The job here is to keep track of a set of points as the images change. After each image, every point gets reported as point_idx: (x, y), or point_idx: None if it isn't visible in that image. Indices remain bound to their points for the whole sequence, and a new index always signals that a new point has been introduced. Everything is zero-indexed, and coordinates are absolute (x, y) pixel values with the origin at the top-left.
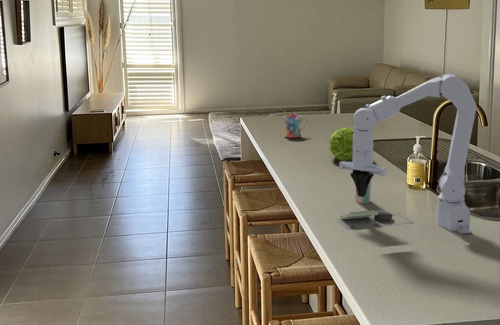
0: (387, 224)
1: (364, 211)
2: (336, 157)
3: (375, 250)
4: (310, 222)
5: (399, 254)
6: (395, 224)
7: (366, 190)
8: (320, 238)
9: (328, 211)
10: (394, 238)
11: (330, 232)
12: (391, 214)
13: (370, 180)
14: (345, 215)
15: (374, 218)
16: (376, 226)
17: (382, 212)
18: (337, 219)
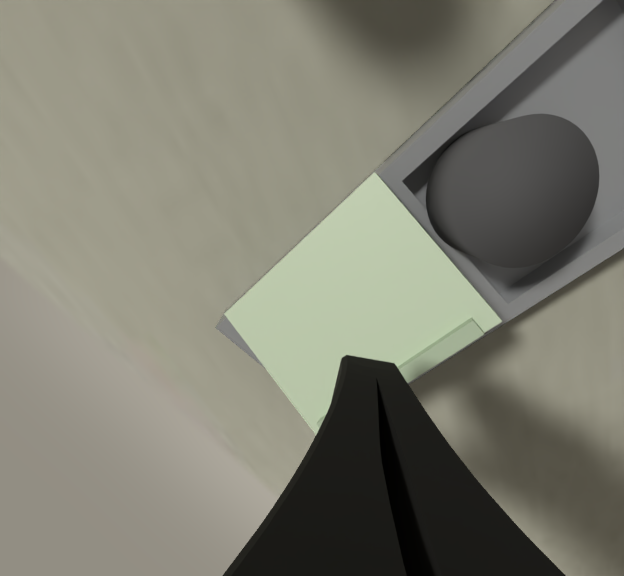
0: (543, 281)
1: (407, 382)
2: None
3: (507, 506)
4: (102, 335)
5: (609, 511)
6: (602, 261)
7: (417, 405)
8: (263, 475)
9: (28, 87)
10: (580, 376)
11: (262, 412)
12: (589, 167)
13: (549, 564)
14: (285, 391)
15: (440, 234)
16: (477, 340)
17: (514, 202)
18: (222, 321)
